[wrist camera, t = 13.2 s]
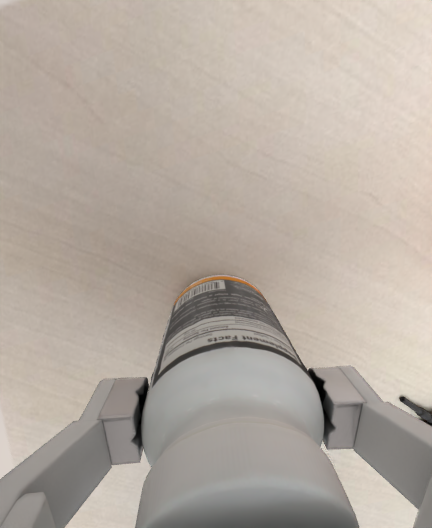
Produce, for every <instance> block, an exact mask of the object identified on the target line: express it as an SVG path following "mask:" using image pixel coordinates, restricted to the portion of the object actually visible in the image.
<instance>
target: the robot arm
mask: <svg viewBox="0 0 432 528" xmlns="http://www.w3.org/2000/svg"><path fill="white" fill-rule="evenodd" d="M308 372H309V374H310V376H311V378H312V380H313V381H314V383H315V386H316V389H317V391H318V393H319V397H320V400H321V404H322V409H323V415H324V433H323V442H324V444H325V446H326V448H327V449H354V451H355V452H356V453H357V454H359V455H360V456H361V457H362V458H363V459H364V460H365V461H366V462H367V463H368V464H369V465H371V466H372V467H373V468H374V469H375V470H376V471H377V472H378V473H379V474H380V475H381V476H383V477H384V478H385V479H386V480H387V481H388V482H389V483H390V484H391V485H392V486H393V487H395V488H396V489H397V490H398V491H399V492H400V493H401V494H402V495H403V496H404V497H405V498H407V499H408V500H409V501H410V502H411V503H412V504H413V505H414V506H415V507H416V508H417V509H419V510H418V513H417V516H416V519H415V522H414V525H413V528H432V426H430V425H428V424H427V423H425V422H423V421H421V420H419V419H418V418H416V417H414V416H412V415H411V414H409V413H407V412H405V411H403V410H402V409H400V408H398V407H396V406H395V405H393V404H391V403H389V402H383V401H382V399H381V398H380V397H379V396H378V395H377V394H376V392H375V391H374V390H373V389H372V388H371V387H370V385H369V384H368V383H367V382H366V381H365V380H364V378H363V377H362V376H361V375H360V374H359V373H358V371H357V370H356V369H355V368H354V367H352V366H351V365H349V366H337V367H324V368H309V370H308ZM148 388H149V384H148V379H147V378H146V377H139V378H118V379H103V380H101V381H100V382H99V384H98V386H97V388H96V390H95V391H94V393H93V395H92V397H91V399H90V401H89V403H88V404H87V406H86V408H85V410H84V412H83V414H82V415H81V417H80V419H79V421H73V422H72V423H71V424H70V425H68V426H67V427H66V428H65V429H63V430H62V431H61V432H59V433H58V434H57V435H56V436H54V437H53V438H52V439H51V440H49V441H48V442H47V443H45V444H44V445H43V446H42V447H40V448H39V449H38V450H37V451H35V452H34V453H33V454H32V455H30V456H29V457H28V458H26V459H25V460H24V461H23V462H21V463H20V464H19V465H18V466H16V467H15V468H14V469H12V470H11V471H10V472H9V473H7V474H6V475H5V476H4V477H2V478H1V479H0V528H64V527H65V526H66V525H67V524H68V522H69V521H70V520H71V518H72V517H73V516H74V515H75V513H76V512H77V511H78V510H79V508H80V507H81V506H82V504H83V503H84V502H85V501H86V499H87V498H88V497H89V496H90V494H91V493H92V492H93V490H94V489H95V488H96V487H97V485H98V484H99V483H100V482H101V480H102V479H103V478H104V476H105V475H106V474H107V473H108V471H109V470H110V469H111V467H112V466H111V465H119V464H129V463H139V462H140V460H141V456H142V452H143V444H142V436H141V421H142V412H143V408H144V404H145V400H146V396H147V392H148Z"/></svg>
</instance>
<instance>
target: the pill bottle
mask: <svg viewBox="0 0 432 528" xmlns="http://www.w3.org/2000/svg"><path fill="white" fill-rule="evenodd" d="M323 433H324V415H323V409H322V404H321V400H320V397H319V393H318V391H317V389H316V386H315V383H314V381H313V380H312V378H311V376H310V374H309V372H308V371H307V369H306V367H305V366H304V364H303V363H302V362H301V360H300V358H299V356H298V354H297V353H296V351H295V349H294V348H293V346H292V344H291V342H290V340H289V338H288V337H287V335H286V333H285V331H284V330H283V328H282V326H281V324H280V323H279V321H278V319H277V318H276V316H275V314H274V313H273V311H272V309H271V307H270V306H269V304H268V303H267V301H266V299H265V298H264V296H263V295H262V294H261V292H260V291H259V290H258V289H257V288H256V287H255V286H253V285H252V284H251V283H249V282H247V281H246V280H244V279H241V278H239V277H235V276H230V275H212V276H208V277H205V278H202V279H199V280H197V281H195V282H194V283H192V284H190V285H189V286H188V287H187V288H185V289H184V290H183V291H182V293H181V294H180V295H179V296H178V298H177V299H176V301H175V303H174V305H173V308H172V311H171V314H170V317H169V320H168V323H167V327H166V330H165V333H164V335H163V341H162V345H161V348H160V352H159V356H158V359H157V362H156V366H155V370H154V372H153V374H152V378H151V383H150V386H149V390H148V393H147V396H146V400H145V404H144V408H143V412H142V421H141V436H142V444H143V448H144V451H145V454H146V457H147V459H148V462H149V464H150V466H151V467H152V468H151V470H150V472H149V473H148V475H147V477H146V479H145V482H144V485H143V488H142V494H141V499H140V504H139V510H138V515H137V521H136V526H135V528H359V525H358V522H357V519H356V516H355V513H354V511H353V509H352V506H351V504H350V502H349V500H348V497H347V495H346V493H345V491H344V488H343V486H342V484H341V482H340V480H339V478H338V476H337V473H336V471H335V469H334V467H333V465H332V463H331V462H330V460H329V458H328V457H327V455H326V454H325V452H324V451H323V450H322V449H321V448H320V447H321V443H322V440H323Z"/></svg>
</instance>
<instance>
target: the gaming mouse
mask: <svg viewBox="0 0 432 528" xmlns="http://www.w3.org/2000/svg"><path fill="white" fill-rule="evenodd" d="M400 401H401V402H403V403H404V404H406V405H407V406H408V407H410V408H411V409H413V410H414V411H416V413H417V415H419V416H420V417H422V418H423V419H425V420H427V421H428V422H427V424H428V425H430V426H432V415H431V414H430V413H429V412H428V411H426V410H425V409H423V408H421V407H417V406H416V405H415V404H413V403H412V402H410V401H409V400H407V399H406V398H404V397H401V398H400Z"/></svg>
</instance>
